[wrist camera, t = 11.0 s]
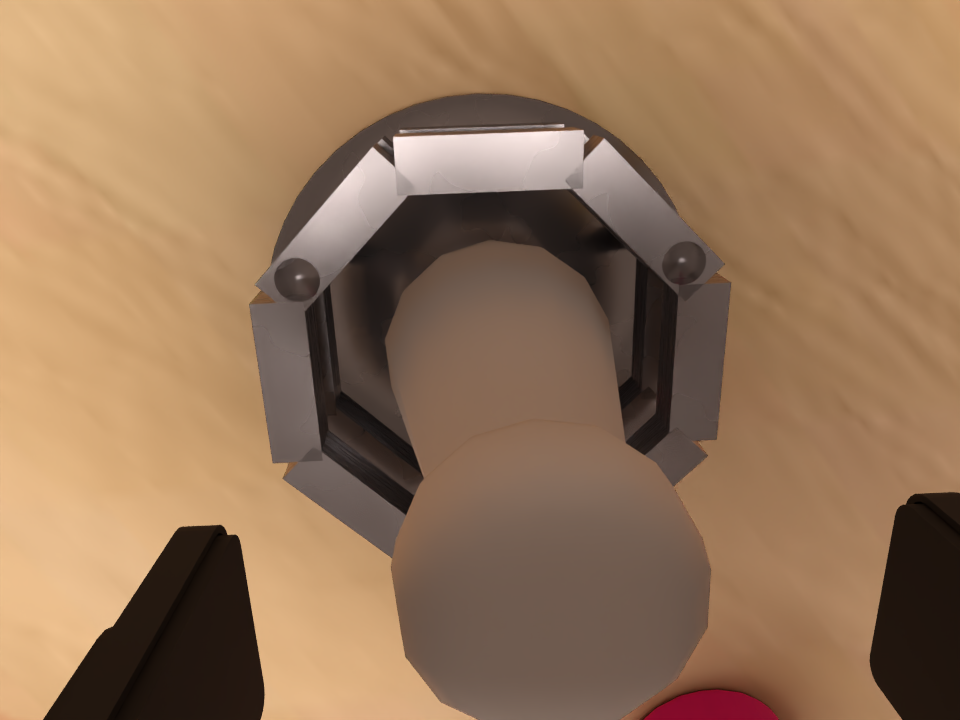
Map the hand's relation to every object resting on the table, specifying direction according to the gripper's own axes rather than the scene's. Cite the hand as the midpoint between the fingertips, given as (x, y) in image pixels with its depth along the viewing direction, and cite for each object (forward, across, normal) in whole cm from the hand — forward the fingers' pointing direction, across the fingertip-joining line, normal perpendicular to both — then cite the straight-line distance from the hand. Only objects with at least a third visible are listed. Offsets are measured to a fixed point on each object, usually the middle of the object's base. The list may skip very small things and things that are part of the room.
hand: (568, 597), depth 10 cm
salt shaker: (+12, 0, -1) cm, 12 cm away
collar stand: (+12, +1, -1) cm, 12 cm away
